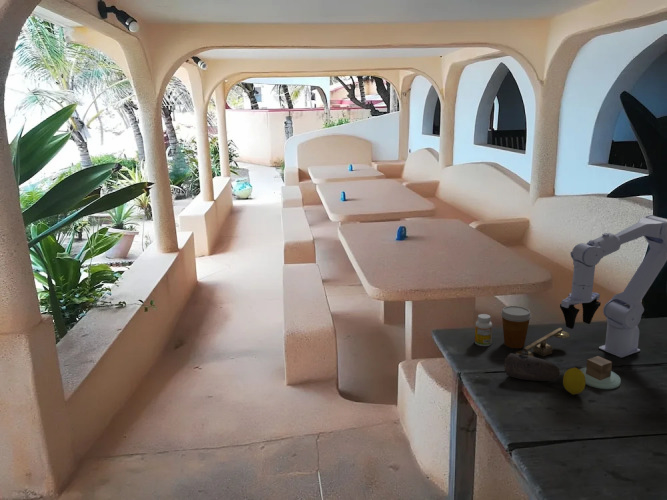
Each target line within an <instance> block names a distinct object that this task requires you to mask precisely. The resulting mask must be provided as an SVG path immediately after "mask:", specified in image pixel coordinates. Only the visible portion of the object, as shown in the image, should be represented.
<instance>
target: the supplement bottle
mask: <svg viewBox="0 0 667 500" xmlns="http://www.w3.org/2000/svg"><path fill="white" fill-rule="evenodd" d="M474 328H475V329H474V343H475V344H476V345H477V346H479V347H490V346H491V345H492V341H493V340H492V339H493V336H492V335H493V323H492V321H491V315H489V314H487V313H480V314H478V315H477V321H476V322H475V325H474Z"/></svg>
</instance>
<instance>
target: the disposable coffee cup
mask: <svg viewBox="0 0 667 500" xmlns="http://www.w3.org/2000/svg"><path fill="white" fill-rule="evenodd" d="M500 315H501V317H502V318H501V319H502V321H501V322H502V331H503V342H504V343H503V344H504V345H505V346H506V347H508V348H511V349H522V348H525V344H526V338H527V334H528V329H529V325H530V319H531V318H532V313H531V310H530V309H529V308H528V307H524V306H520V305H519V306H518V305H508V306H504V307H503V308H502V310H500Z"/></svg>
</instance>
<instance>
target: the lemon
mask: <svg viewBox="0 0 667 500" xmlns="http://www.w3.org/2000/svg"><path fill="white" fill-rule="evenodd" d="M562 385H563V387H564V389H565V390H566V392H567V393H570V394H571V395H573V396H575V395H578V394H581V393H582V392H583V391H584V390H585V387H586V379H585V375H584V373H583V372H582V371H581V370H580V368H577V367H571V368H568V369H567V370H566V371H565V372H564V374H563V378H562Z"/></svg>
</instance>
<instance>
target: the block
mask: <svg viewBox="0 0 667 500" xmlns="http://www.w3.org/2000/svg"><path fill="white" fill-rule="evenodd" d="M586 360H587V361H586V367H587V368H586V374H587V375H590V376H592V377H594V378H596V379H598V380H602V379H605V378H608V377H610V376H611V371H612V366H613V365H612V364H613V361H611V360H608V359H606V358H604V357H601V356H599V355H597V356H593V357H591V358H588V359H586Z"/></svg>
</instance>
